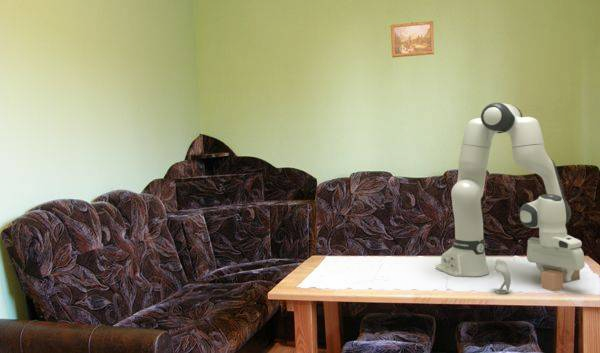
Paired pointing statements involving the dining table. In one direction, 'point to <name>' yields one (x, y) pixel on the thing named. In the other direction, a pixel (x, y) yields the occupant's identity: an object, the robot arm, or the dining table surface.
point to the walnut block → (573, 277)
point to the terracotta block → (552, 280)
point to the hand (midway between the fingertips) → (555, 278)
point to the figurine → (503, 269)
